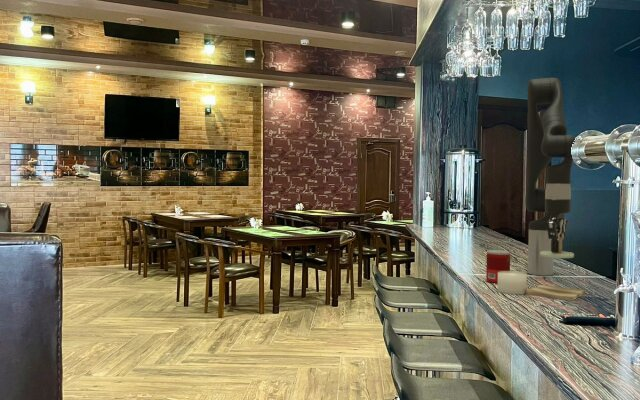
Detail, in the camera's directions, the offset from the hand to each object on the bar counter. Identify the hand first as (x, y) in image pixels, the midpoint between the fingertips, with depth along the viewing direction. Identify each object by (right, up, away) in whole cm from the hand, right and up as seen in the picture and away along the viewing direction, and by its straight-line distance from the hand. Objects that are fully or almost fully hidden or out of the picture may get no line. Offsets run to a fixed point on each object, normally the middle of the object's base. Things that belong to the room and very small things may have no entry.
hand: (556, 251), depth 177 cm
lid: (0, -1, 0) cm, 1 cm away
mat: (0, -14, +1) cm, 14 cm away
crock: (-13, -13, +4) cm, 19 cm away
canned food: (-12, -13, +20) cm, 27 cm away
